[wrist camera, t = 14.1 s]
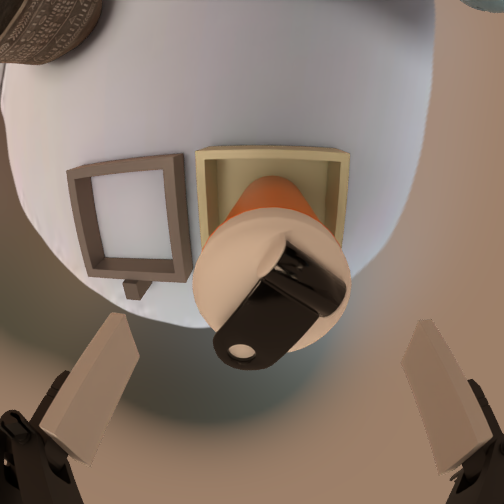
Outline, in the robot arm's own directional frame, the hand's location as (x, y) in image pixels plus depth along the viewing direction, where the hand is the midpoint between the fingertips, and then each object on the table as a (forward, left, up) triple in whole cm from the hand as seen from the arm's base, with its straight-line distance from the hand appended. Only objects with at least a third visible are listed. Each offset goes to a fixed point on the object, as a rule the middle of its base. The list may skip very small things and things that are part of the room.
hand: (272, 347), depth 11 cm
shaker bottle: (0, 0, -22) cm, 22 cm away
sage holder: (0, 0, -22) cm, 22 cm away
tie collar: (+2, -17, -22) cm, 28 cm away
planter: (-28, -26, -22) cm, 44 cm away
